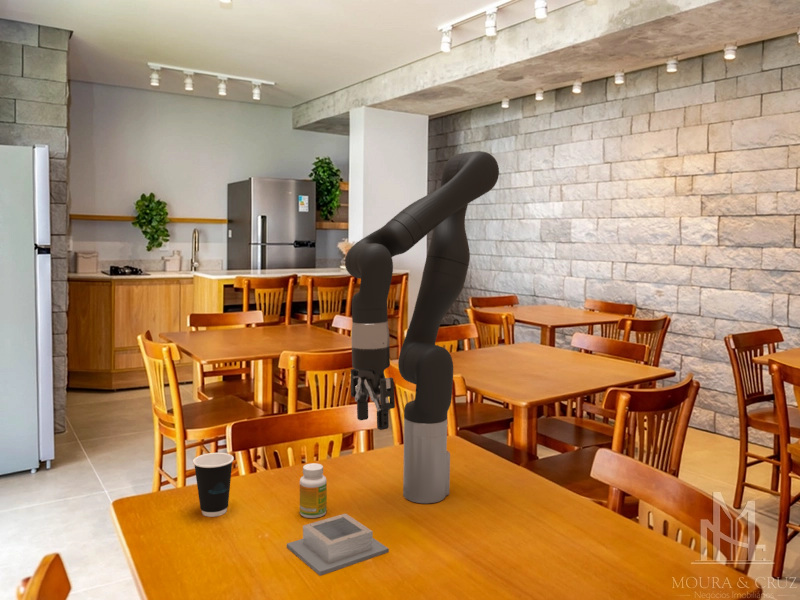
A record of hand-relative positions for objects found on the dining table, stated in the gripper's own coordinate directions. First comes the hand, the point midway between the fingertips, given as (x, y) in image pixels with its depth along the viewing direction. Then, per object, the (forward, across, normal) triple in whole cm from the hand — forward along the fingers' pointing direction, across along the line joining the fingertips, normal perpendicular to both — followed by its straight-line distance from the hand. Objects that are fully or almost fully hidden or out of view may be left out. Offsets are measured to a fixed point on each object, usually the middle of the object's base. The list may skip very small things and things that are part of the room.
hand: (372, 424), depth 132 cm
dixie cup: (+17, +16, +28) cm, 37 cm away
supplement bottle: (+18, +6, +11) cm, 22 cm away
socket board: (+19, -11, +13) cm, 25 cm away
